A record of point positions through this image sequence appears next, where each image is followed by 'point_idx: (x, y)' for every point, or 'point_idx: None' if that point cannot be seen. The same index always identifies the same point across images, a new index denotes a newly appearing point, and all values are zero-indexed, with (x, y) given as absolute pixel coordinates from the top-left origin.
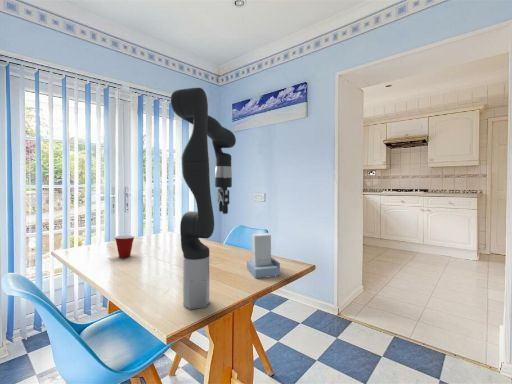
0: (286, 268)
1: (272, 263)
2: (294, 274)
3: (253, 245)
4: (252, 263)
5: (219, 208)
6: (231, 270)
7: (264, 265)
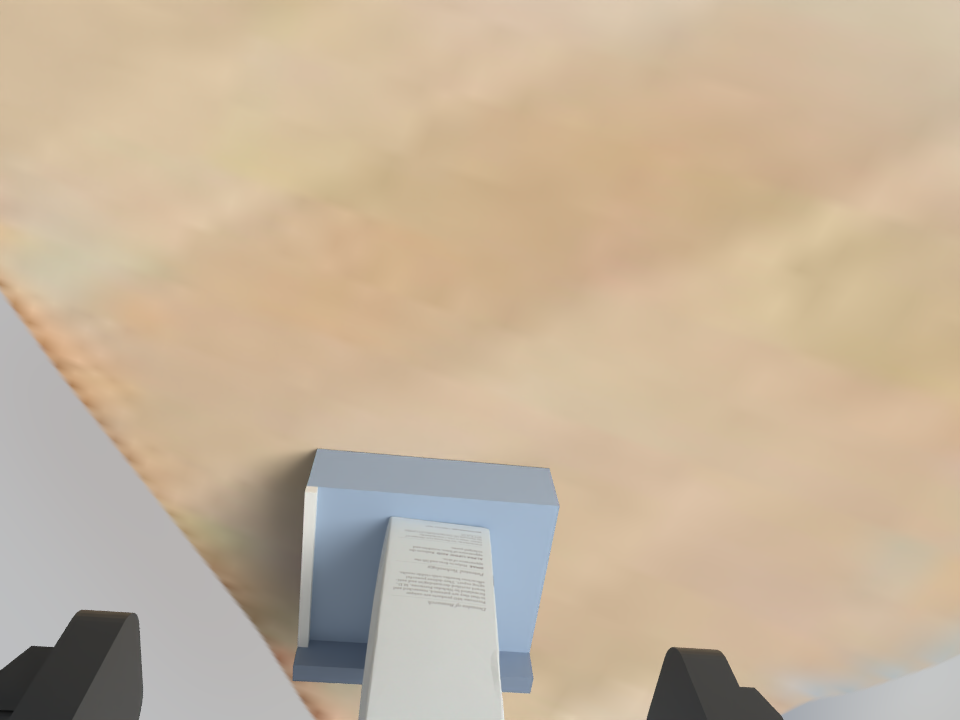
0: None
1: None
2: (300, 693)
3: (434, 640)
4: (473, 521)
5: (702, 715)
6: (569, 347)
7: None
